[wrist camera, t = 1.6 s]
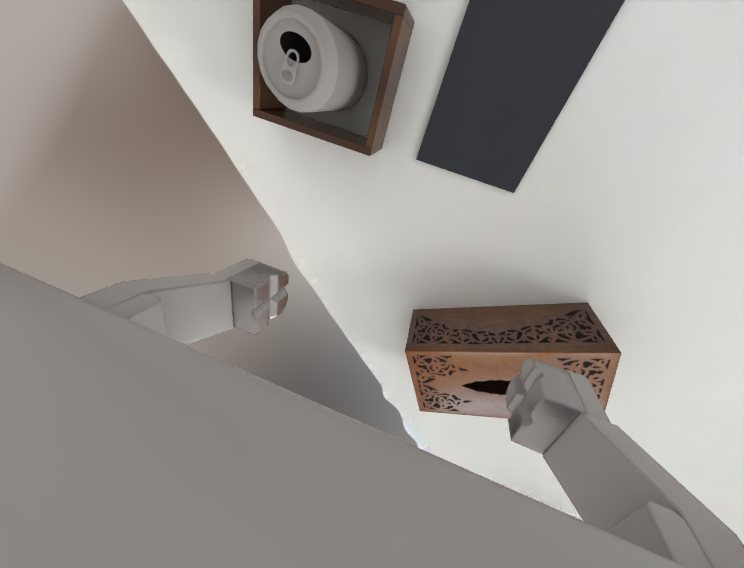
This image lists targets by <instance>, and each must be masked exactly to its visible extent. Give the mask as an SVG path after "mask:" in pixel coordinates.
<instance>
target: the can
mask: <svg viewBox="0 0 744 568" xmlns="http://www.w3.org/2000/svg"><path fill="white" fill-rule="evenodd" d="M257 57H258V62H259V67H260V71H261V74H262V76H263V78H264V80H265V83H266V85H267V86H268V87H269V89H270V90H271V91H272V93H273V94H274V95H275V96H276V97H277V99H278V100H279V101H280V102H281V103H283V104H284V105H285V106H286V107H288V108H289V109H292V110H294V111H297V112H300V113H301V112H321V111H339V110H345V109H348V108H350V107H352V106H353V105H354V104H355V103H356V102H357V101H358V100H359V99H360V97H361V95H362V93H363V91H364V89H365V84H366V79H367V67H366V61H365V57H364V54H363V51H362V49H361V48H360V46H359V44H358V43H357V41H356V40H355V39H354V38H353V37H351V36H350V35H349V34H348V33H347V32H345V31H344V30H342V29H341V28H339V27H337V26H336V25H334V24H333V23H331V22H330V21H328V20H327V19H325V18H324V17H322V16H321V15H319V14H318V13H316V12H315V11H313V10H312V9H310V8H307V7H304V6H301V5H298V4H294V5H287V6H283V7H282V8H280V9H279V10H277V11H276V12H275V13H273V14H272V15H271V16H270V17H269V18H268V19H267V20H266V22H265V23H264V25H263V27H262V28H261V31H260V35H259V39H258V51H257Z"/></svg>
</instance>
